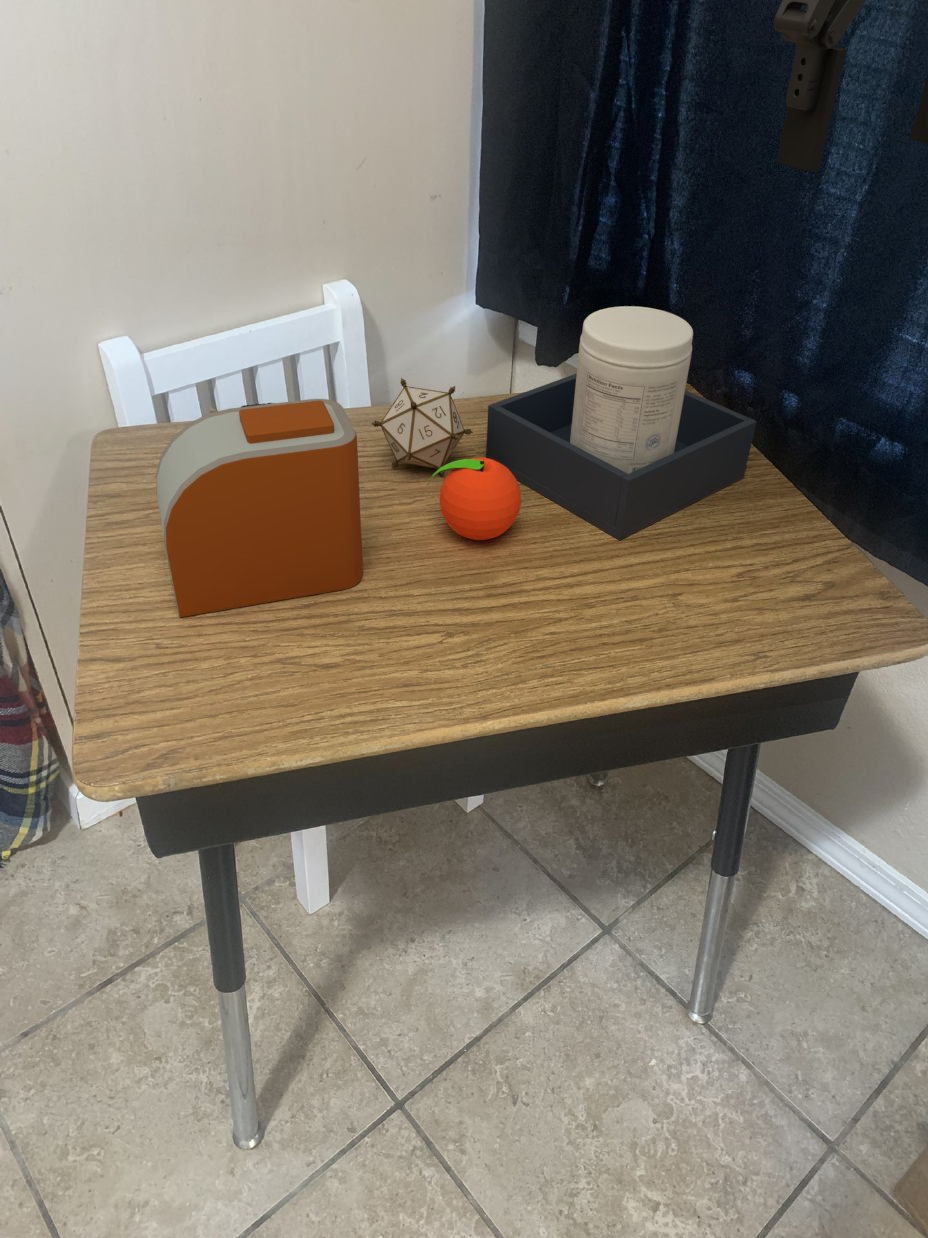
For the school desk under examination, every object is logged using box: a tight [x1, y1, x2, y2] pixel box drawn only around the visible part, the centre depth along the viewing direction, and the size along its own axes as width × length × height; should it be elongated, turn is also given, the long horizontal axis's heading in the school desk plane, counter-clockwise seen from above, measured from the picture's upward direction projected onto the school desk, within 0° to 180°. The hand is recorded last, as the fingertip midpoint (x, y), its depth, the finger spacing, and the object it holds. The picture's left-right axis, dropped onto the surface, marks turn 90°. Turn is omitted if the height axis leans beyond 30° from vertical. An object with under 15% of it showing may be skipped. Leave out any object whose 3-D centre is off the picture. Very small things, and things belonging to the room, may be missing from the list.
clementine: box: [427, 457, 522, 541], centre depth 83 cm, size 8×7×7 cm
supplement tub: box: [570, 305, 694, 474], centre depth 87 cm, size 10×10×15 cm
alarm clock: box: [155, 398, 364, 618], centre depth 75 cm, size 15×8×14 cm, turn 108°
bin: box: [485, 372, 758, 541], centre depth 93 cm, size 18×18×6 cm
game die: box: [370, 377, 474, 478], centre depth 92 cm, size 9×8×10 cm
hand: (866, 154), depth 64 cm, fingers open, 13 cm apart
